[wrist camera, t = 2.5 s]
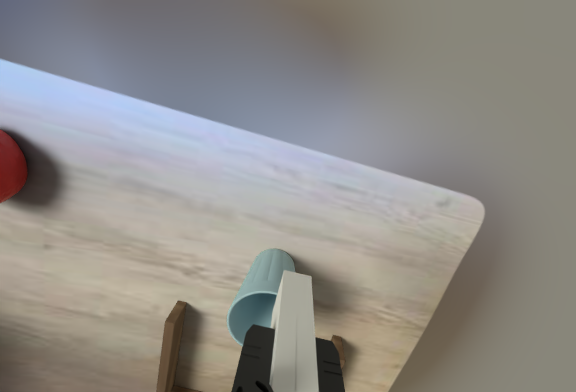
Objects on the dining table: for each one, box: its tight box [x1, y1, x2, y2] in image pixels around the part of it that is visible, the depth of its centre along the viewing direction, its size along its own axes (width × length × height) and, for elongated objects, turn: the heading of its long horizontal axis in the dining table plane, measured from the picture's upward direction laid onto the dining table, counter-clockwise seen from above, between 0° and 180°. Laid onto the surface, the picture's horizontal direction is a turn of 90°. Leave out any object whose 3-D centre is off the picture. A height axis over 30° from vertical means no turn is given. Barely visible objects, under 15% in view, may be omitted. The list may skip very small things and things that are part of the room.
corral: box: [156, 301, 345, 392], centre depth 40 cm, size 24×18×4 cm
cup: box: [227, 249, 295, 347], centre depth 32 cm, size 8×8×10 cm
